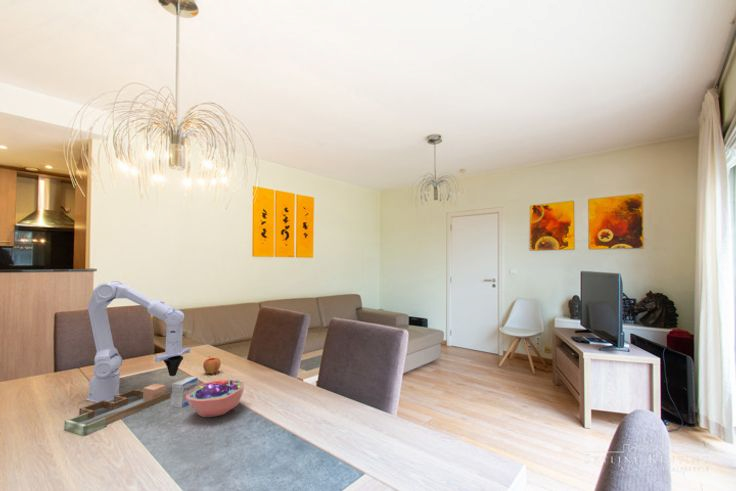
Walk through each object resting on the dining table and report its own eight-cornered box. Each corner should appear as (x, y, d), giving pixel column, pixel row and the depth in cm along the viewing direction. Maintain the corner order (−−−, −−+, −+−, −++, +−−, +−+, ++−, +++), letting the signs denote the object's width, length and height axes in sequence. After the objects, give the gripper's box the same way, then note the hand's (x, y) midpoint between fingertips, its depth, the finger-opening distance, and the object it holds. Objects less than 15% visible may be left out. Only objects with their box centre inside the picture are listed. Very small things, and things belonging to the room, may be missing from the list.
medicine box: (181, 409, 119) (182, 384, 119) (170, 407, 120) (172, 383, 120) (197, 400, 127) (198, 377, 127) (186, 398, 127) (188, 375, 128)
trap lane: (53, 426, 105) (54, 417, 105) (142, 392, 132) (142, 386, 132) (84, 435, 100) (84, 426, 100) (170, 399, 127) (170, 391, 127)
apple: (215, 376, 152) (216, 358, 152) (199, 376, 152) (200, 358, 153) (222, 371, 159) (223, 354, 160) (207, 370, 160) (208, 353, 160)
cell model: (255, 406, 122) (256, 375, 123) (208, 431, 104) (210, 394, 105) (222, 397, 129) (223, 368, 130) (173, 419, 111) (174, 384, 112)
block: (142, 400, 124) (143, 387, 124) (155, 395, 129) (156, 383, 129) (152, 402, 122) (153, 390, 123) (164, 397, 127) (165, 385, 127)
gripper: (165, 346, 125) (163, 383, 125) (196, 338, 139) (195, 371, 138) (151, 344, 128) (149, 380, 127) (183, 336, 141) (182, 369, 141)
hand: (172, 375), depth 133 cm, fingers closed
